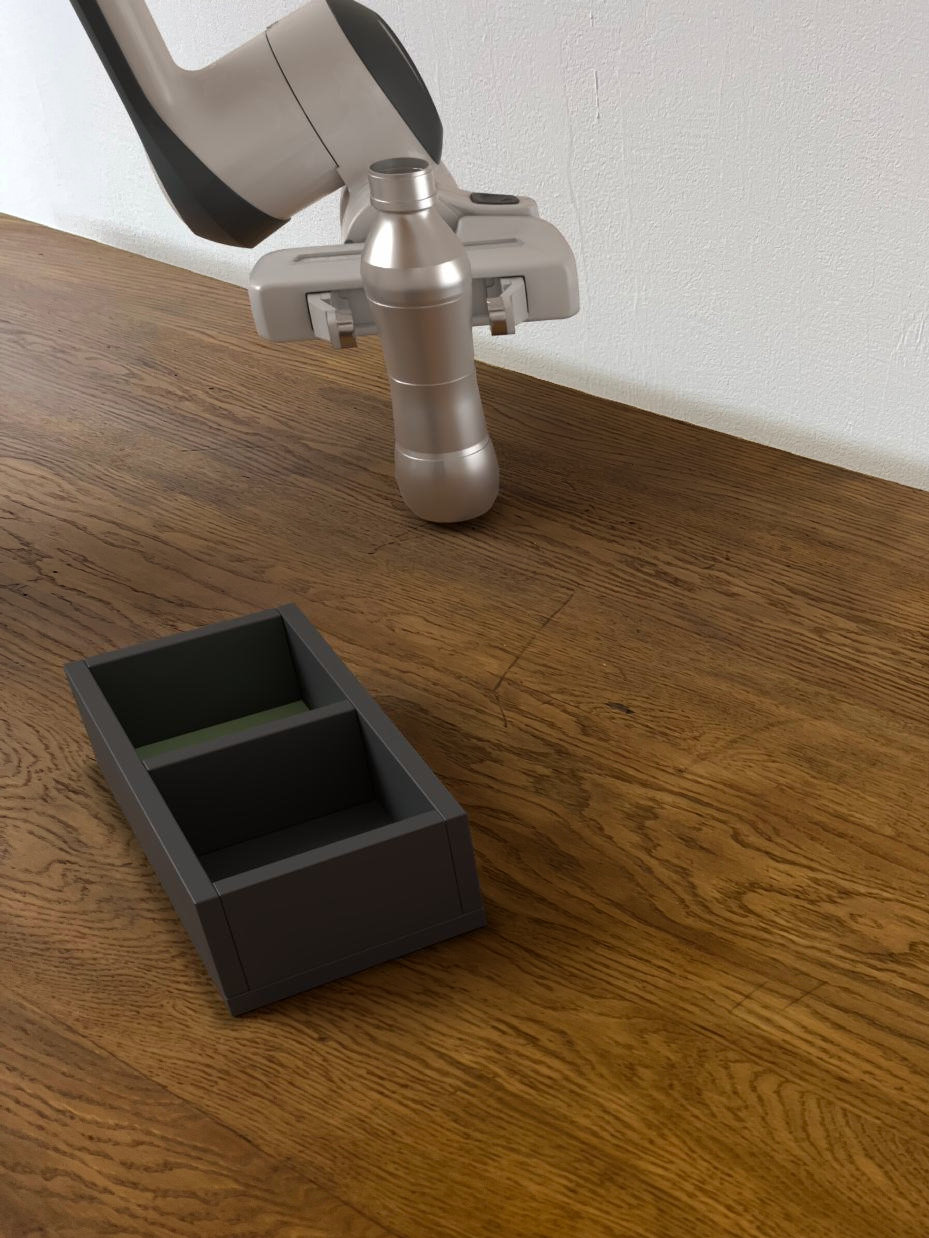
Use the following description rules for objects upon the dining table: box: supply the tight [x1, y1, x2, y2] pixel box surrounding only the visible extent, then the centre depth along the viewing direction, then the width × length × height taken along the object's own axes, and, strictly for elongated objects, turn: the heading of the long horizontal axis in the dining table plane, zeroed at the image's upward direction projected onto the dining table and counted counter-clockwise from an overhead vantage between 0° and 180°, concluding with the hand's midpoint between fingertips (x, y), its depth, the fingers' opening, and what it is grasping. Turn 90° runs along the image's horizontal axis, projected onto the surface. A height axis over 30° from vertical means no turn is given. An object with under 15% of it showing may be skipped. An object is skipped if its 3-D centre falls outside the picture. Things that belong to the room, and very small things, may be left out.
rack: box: [62, 602, 487, 1018], centre depth 73 cm, size 12×22×6 cm, turn 31°
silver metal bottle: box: [360, 157, 500, 523], centre depth 94 cm, size 6×7×20 cm
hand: (423, 328), depth 94 cm, fingers open, 8 cm apart
